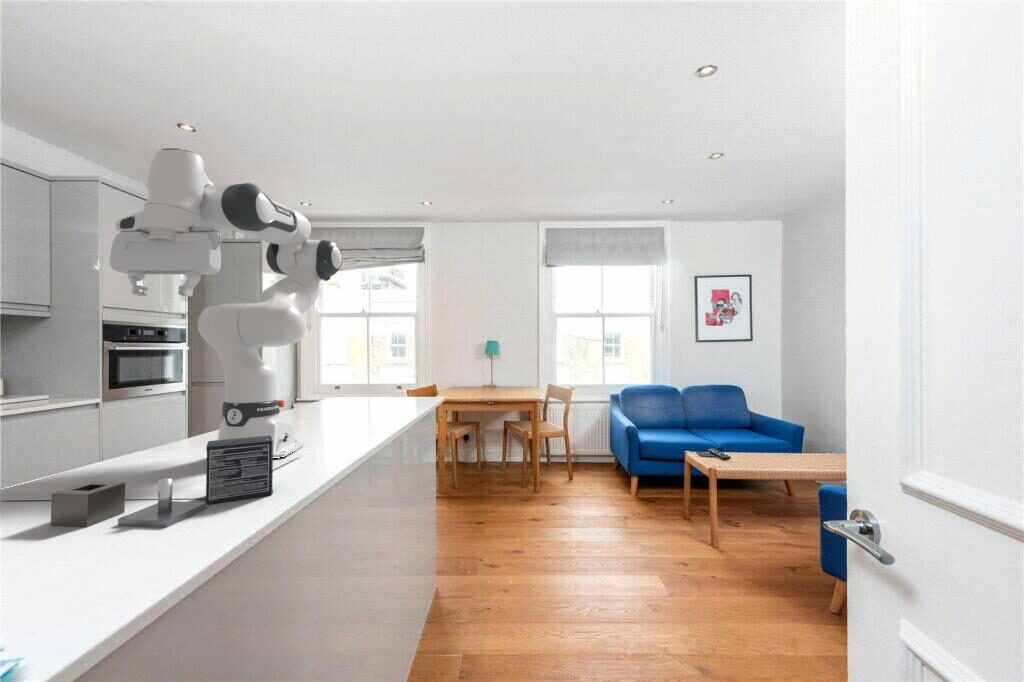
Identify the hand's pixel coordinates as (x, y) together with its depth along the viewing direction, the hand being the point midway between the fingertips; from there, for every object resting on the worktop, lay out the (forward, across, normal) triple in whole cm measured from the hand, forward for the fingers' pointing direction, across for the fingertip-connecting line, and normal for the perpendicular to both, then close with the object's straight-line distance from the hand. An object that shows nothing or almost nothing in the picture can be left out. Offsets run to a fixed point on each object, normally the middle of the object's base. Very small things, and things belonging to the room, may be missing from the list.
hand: (162, 295), depth 83 cm
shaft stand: (+39, -12, +7) cm, 41 cm away
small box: (+38, -17, -4) cm, 42 cm away
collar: (+39, -1, +9) cm, 40 cm away
